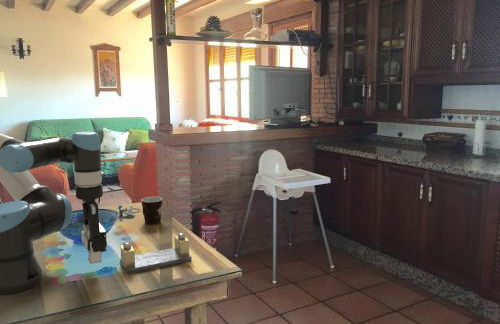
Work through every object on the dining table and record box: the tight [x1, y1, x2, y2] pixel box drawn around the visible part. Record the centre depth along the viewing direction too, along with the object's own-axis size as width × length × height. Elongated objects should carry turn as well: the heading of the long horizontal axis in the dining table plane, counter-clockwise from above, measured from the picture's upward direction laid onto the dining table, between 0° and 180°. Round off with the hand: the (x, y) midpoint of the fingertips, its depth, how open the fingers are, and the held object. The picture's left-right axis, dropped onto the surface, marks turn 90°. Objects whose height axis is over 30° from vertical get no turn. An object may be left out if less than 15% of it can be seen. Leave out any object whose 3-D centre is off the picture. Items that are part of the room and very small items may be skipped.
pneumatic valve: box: [80, 222, 108, 265], centre depth 131 cm, size 6×12×12 cm, turn 33°
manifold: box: [119, 232, 193, 275], centre depth 141 cm, size 21×10×8 cm, turn 118°
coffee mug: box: [140, 196, 163, 226], centre depth 179 cm, size 12×9×10 cm
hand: (92, 254), depth 132 cm, fingers closed on pneumatic valve, 11 cm apart
